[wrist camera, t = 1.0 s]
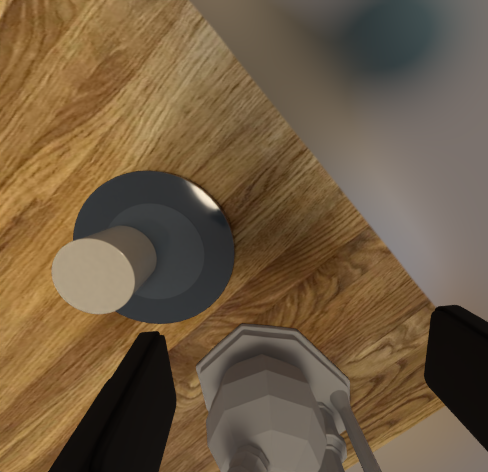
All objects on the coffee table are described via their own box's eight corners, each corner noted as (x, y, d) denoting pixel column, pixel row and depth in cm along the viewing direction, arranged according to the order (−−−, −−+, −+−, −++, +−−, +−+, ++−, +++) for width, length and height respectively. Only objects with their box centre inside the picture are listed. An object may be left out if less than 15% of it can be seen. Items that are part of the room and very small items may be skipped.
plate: (64, 180, 23) (51, 180, 22) (224, 162, 23) (223, 161, 22) (103, 322, 27) (95, 332, 25) (242, 307, 27) (242, 316, 25)
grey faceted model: (175, 382, 29) (108, 596, 14) (265, 300, 27) (298, 452, 12) (285, 464, 33) (325, 706, 18) (373, 398, 30) (503, 612, 15)
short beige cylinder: (84, 229, 23) (40, 243, 18) (149, 222, 23) (124, 234, 18) (100, 289, 24) (64, 318, 19) (162, 282, 24) (142, 310, 19)
